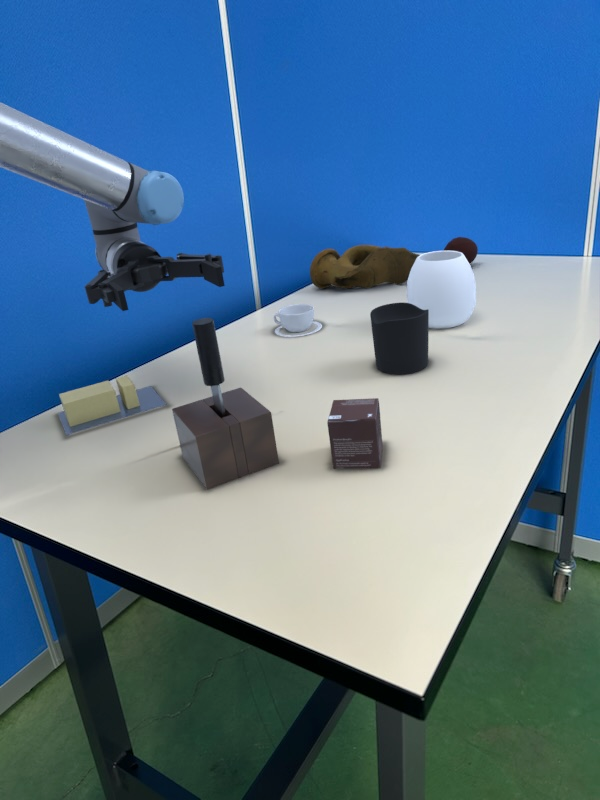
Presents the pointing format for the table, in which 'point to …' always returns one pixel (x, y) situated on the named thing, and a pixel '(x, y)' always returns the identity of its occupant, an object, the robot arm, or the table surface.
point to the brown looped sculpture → (361, 266)
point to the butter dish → (146, 400)
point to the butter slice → (127, 392)
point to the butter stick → (89, 403)
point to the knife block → (226, 438)
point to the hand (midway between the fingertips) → (173, 288)
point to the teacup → (296, 319)
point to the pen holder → (400, 338)
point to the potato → (463, 247)
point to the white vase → (443, 288)
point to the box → (355, 434)
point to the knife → (210, 360)
